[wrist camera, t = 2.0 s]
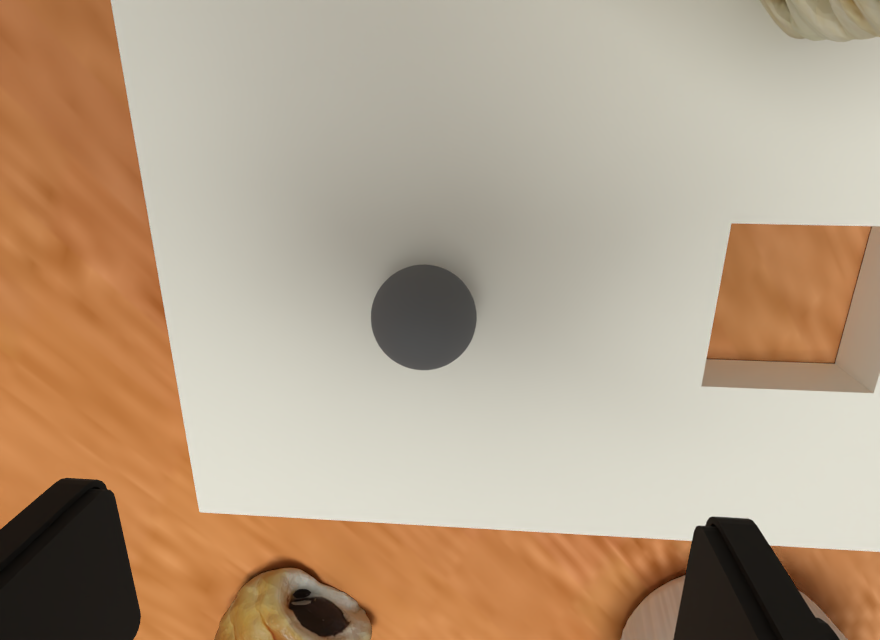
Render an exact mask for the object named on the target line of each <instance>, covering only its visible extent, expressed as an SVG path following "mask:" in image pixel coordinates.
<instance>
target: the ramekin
mask: <svg viewBox="0 0 880 640" xmlns="http://www.w3.org/2000/svg"><path fill="white" fill-rule="evenodd" d="M684 581H685V575H683V576H681V577H678V578H676V579H673V580H671V581H669V582H667V583H666V584H664V585H662V586H660V587H659V588H657V589H656V590H654V591H653V592H652V593H650V594H649V595H648V596H647V597H646V598H645V599H644V600H643V601H642V602H641V603H640V604H639V606H638V607H637V608H636V609H635V610H634V612H633V613H632V615H631V616H630V617H629V619H628V620H627V623H626V626H625V627H624V629H623V633H622V637H621V639H620V640H673V639H674V633H675V628H676V623H677V618H678V612H679V607H680V602H681V597H682V591H683V586H684ZM798 591H799V590H798ZM799 592H800V591H799ZM800 594H801V595H802V597H803V599H804V600H805V602H806V603H807V605H808V606H809V608H810V610H811V611H812V613H813V614H814V616H815V617H816V618H820V619H822V620H823V621H825V622H826V623H828V625H829V626H830V627H831V628H832V629H833V631H834V632H835V633H836V635H837V636H838V638H839V639H840V640H848V639H847V638H846V637H845V636H844V635H843V634H842V633H841V631H840V630H839V629H838V628H837V627H836V626H835V625H834V624H833V622H832V621H831V620H830V619H829V618H828V617H827V615H826V614H825V613H824V612H823V611H822V610H821V609H820V608H819V607H818V606H817V605H816V604H815V603H814V602H813V601H811V600H810V599H809V598H808V597H807V596H806V595H805V594H804V593H802V592H800Z"/></svg>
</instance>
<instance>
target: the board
mask: <svg viewBox="0 0 880 640" xmlns="http://www.w3.org/2000/svg"><path fill="white" fill-rule="evenodd" d="M111 5H112V11H113V16H114V22H115V28H116V34H117V39H118V45H119V51H120V57H121V63H122V68H123V74H124V80H125V86H126V91H127V97H128V103H129V109H130V114H131V120H132V126H133V132H134V138H135V143H136V149H137V155H138V161H139V166H140V172H141V178H142V184H143V189H144V195H145V201H146V207H147V213H148V218H149V224H150V230H151V236H152V241H153V247H154V253H155V259H156V264H157V270H158V276H159V282H160V288H161V293H162V299H163V305H164V311H165V316H166V322H167V328H168V334H169V339H170V345H171V351H172V357H173V363H174V368H175V374H176V380H177V386H178V391H179V397H180V403H181V409H182V414H183V420H184V426H185V432H186V438H187V443H188V449H189V455H190V461H191V466H192V472H193V478H194V484H195V489H196V495H197V501H198V507H199V512H205V513H222V514H239V515H256V516H274V517H291V518H308V519H325V520H342V521H359V522H377V523H394V524H411V525H428V526H445V527H463V528H480V529H497V530H514V531H531V532H548V533H566V534H583V535H600V536H617V537H634V538H651V539H669V540H686V541H692V539H693V533H694V530H695V528H696V526H705V525H706V522H707V520H708V519H709V517H712V516H714V517H731V518H748V519H751V520H753V521H754V523H755V524H756V525H757V526H758V528H759V530H760V531H761V533H762V534H763V536H764V537H765V539H766V541H767V542H768V544H769V545H772V546H789V547H806V548H823V549H840V550H858V551H875V552H880V37H874V38H870V39H863V40H859V39H853V40H850V41H847V42H836V41H831V40H827V39H826V40H820V41H812V40H809V39H806V38H804V39H796V38H793V37H790V36H788V35H787V34H786V33H785V32H784V31H783V30H782V29H781V28H780V27H779V26H778V25H777V24H776V23H775V22H774V21H773V19H772V18H771V16H770V15H769V13H768V12H767V11H766V9H765V8H764V6H763V5H762V3H761V2H760V0H111ZM731 223H740V224H789V225H839V226H872V228H871V232H870V236H869V240H868V243H867V247H866V251H865V254H864V258H863V262H862V265H861V269H860V273H859V276H858V280H857V284H856V287H855V291H854V295H853V299H852V302H851V306H850V310H849V313H848V317H847V321H846V324H845V328H844V332H843V335H842V339H841V343H840V346H839V350H838V354H837V358H836V361H835V364H828V363H800V362H773V361H745V360H718V359H706V358H707V353H708V347H709V342H710V336H711V331H712V326H713V320H714V315H715V309H716V304H717V298H718V293H719V288H720V282H721V277H722V271H723V266H724V260H725V255H726V250H727V244H728V239H729V233H730V228H731ZM424 264H426V265H434V266H438V267H441V268H444V269H446V270H448V271H450V272H452V273H453V274H455V275H456V276H457V277H458V278H460V279H461V280H462V281H463V283H464V284H465V285H466V286H467V288H468V289H469V291H470V293H471V295H472V297H473V299H474V303H475V307H476V314H477V321H476V328H475V332H474V335H473V338H472V340H471V342H470V344H469V346H468V347H467V349H466V350H465V351H464V352H463V353H462V354H461V355H460V356H459V357H458V358H457V359H456V360H454V361H453V362H451V363H450V364H448V365H446V366H443V367H441V368H438V369H433V370H415V369H410V368H407V367H404V366H402V365H400V364H398V363H396V362H395V361H393V360H392V359H390V358H389V357H388V356H387V355H386V354H385V353H384V352H383V351H382V349H381V348H380V347H379V345H378V343H377V341H376V339H375V337H374V334H373V331H372V326H371V309H372V304H373V301H374V298H375V296H376V294H377V292H378V290H379V288H380V287H381V285H382V284H383V283H384V282H385V281H386V280H387V279H388V278H389V277H390V276H391V275H393V274H394V273H396V272H397V271H399V270H402V269H404V268H406V267H410V266H414V265H424Z"/></svg>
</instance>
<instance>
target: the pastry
mask: <svg viewBox="0 0 880 640" xmlns="http://www.w3.org/2000/svg"><path fill="white" fill-rule="evenodd" d="M371 635H372V626H371V623H370V620H369V619H368V617H367V616H366V612H365V610H363V609H361V608H360V607H359V606H358V603H357V601H356V600H354V599H353V598H351V597H350V596H349V595H348V594H346V593H344V592H341V591H339V590H337V589H335V588H333V587H330V586H327V585H325V584H322V583H320V582H318V581H317V580H316V579H315V578H313V577H312V576H310V575H309V574H307V573H306V572H304V571H302V570H300V569H297V568H282V569H275V570H271V571H267V572H264V573H262V574H259V575H258V576H255V577H254V578H253V579H251V580H250V581H249V582H248V583H246V584H245V585H244V586H243V587H242V588H241V589H240V590H239V592H238V594H237V597H236V599H235V600H234V602H233V603H232V604H231V606H230V608H229V609H228V611H227V612H226V613H225V614H224V616H223V617H222V619H221V621H220V625H219V629H218V631H217V633H216V636H215V639H214V640H370V639H371Z"/></svg>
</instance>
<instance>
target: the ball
mask: <svg viewBox="0 0 880 640" xmlns="http://www.w3.org/2000/svg"><path fill="white" fill-rule="evenodd" d="M476 321H477V314H476V307H475V303H474V299H473V297H472V295H471V293H470V291H469V289H468V288H467V286H466V285H465V284H464V283H463V281H462V280H461V279H460V278H458V277H457V276H456V275H455V274H453V273H452V272H450V271H448V270H446V269H444V268H441V267H438V266H434V265H426V264H424V265H414V266H410V267H406V268H404V269H402V270H399V271H397V272H396V273H394V274H393V275H391V276H390V277H389V278H388V279H387V280H386V281H385V282H384V283H383V284H382V285H381V287H380V288H379V290H378V292H377V294H376V296H375V298H374V301H373V304H372V309H371V326H372V331H373V334H374V337H375V339H376V341H377V343H378V345H379V347H380V348H381V349H382V351H383V352H384V353H385V354H386V355H387V356H388V357H389V358H390V359H392V360H393V361H395V362H396V363H398V364H400V365H402V366H404V367H407V368H410V369H415V370H433V369H438V368H441V367H443V366H446V365H448V364H450V363H451V362H453V361H454V360H456V359H457V358H458V357H459V356H460V355H461V354H462V353H463V352H464V351H465V350H466V349H467V347H468V346H469V344H470V342H471V340H472V338H473V335H474V332H475V328H476Z"/></svg>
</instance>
